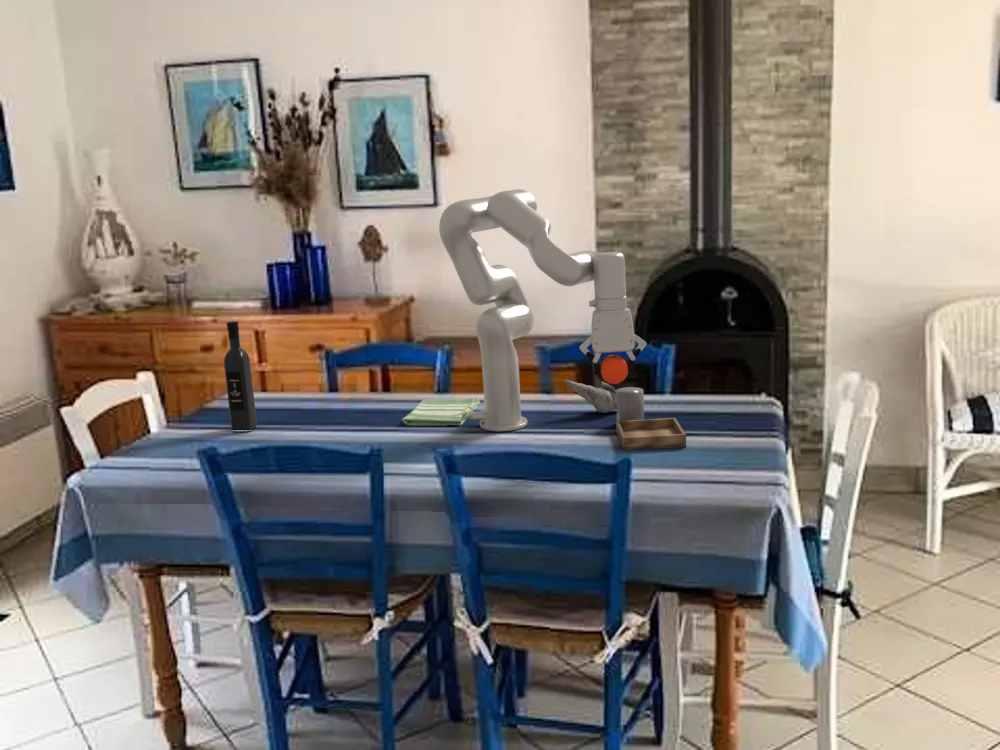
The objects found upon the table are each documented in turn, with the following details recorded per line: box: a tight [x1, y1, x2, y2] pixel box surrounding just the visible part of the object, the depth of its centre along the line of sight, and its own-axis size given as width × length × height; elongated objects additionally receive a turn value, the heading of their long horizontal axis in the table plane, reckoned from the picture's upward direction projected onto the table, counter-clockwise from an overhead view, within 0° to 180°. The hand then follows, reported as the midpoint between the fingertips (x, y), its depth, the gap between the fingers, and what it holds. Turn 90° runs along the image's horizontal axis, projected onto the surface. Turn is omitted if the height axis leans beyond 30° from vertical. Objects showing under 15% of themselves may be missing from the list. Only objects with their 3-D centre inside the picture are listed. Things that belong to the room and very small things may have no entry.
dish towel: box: [401, 397, 481, 427], centre depth 286 cm, size 18×23×3 cm
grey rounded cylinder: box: [615, 386, 645, 421], centre depth 265 cm, size 7×7×9 cm
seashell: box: [563, 379, 617, 414], centre depth 279 cm, size 10×17×10 cm, turn 81°
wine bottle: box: [223, 320, 258, 431], centre depth 278 cm, size 6×6×30 cm
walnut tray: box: [615, 417, 687, 451], centre depth 252 cm, size 15×15×3 cm
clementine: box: [600, 354, 629, 385], centre depth 249 cm, size 8×7×7 cm
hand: (614, 376), depth 249 cm, fingers closed on clementine, 7 cm apart
